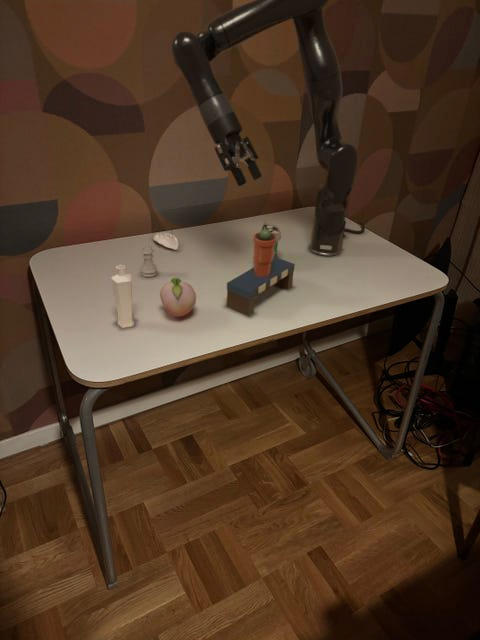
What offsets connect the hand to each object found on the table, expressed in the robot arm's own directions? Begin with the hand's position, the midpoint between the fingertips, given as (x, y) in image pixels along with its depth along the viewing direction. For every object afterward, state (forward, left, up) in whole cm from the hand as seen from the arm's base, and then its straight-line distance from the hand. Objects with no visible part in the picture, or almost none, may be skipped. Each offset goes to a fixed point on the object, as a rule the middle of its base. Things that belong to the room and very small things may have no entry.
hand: (250, 181), depth 123 cm
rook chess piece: (+18, -20, -28) cm, 39 cm away
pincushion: (+3, -33, -28) cm, 43 cm away
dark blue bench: (+2, +8, -28) cm, 29 cm away
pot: (+2, +8, -21) cm, 23 cm away
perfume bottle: (+36, -3, -28) cm, 46 cm away
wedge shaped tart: (-14, -5, -28) cm, 32 cm away
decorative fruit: (+24, +2, -28) cm, 37 cm away
